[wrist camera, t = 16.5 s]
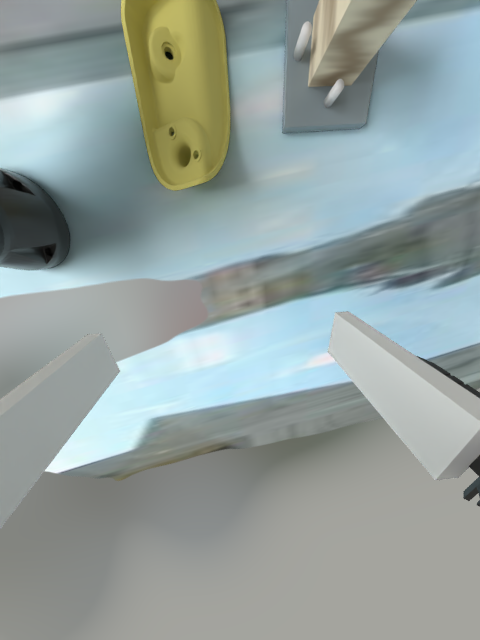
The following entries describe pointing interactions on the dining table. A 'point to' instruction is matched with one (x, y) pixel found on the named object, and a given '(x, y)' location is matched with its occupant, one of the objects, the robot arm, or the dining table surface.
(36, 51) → the dining table surface
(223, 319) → the dining table surface
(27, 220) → the robot arm
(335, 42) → the birch block
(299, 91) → the pin plate
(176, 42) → the plastic component
